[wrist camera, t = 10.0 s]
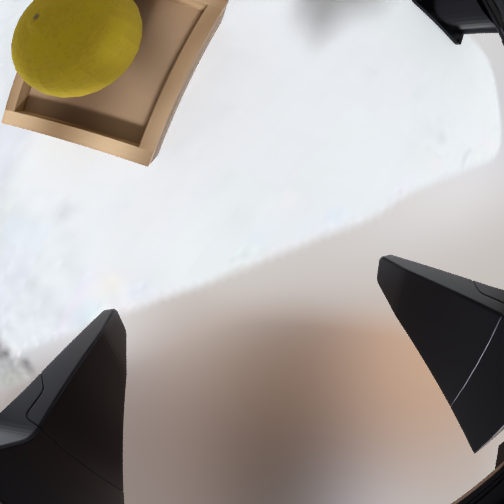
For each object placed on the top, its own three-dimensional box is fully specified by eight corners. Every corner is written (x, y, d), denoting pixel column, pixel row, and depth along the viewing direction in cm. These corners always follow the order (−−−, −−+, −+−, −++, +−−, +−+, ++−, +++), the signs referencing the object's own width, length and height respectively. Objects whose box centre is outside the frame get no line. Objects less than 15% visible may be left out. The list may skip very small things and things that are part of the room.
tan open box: (221, 21, 14) (228, -1, 10) (157, 155, 18) (147, 166, 14) (90, -10, 11) (71, -32, 7) (33, 118, 14) (1, 122, 10)
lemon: (95, 2, 10) (34, -53, 3) (173, 28, 12) (152, -38, 5) (48, 84, 11) (-41, 80, 4) (122, 114, 13) (56, 117, 6)
